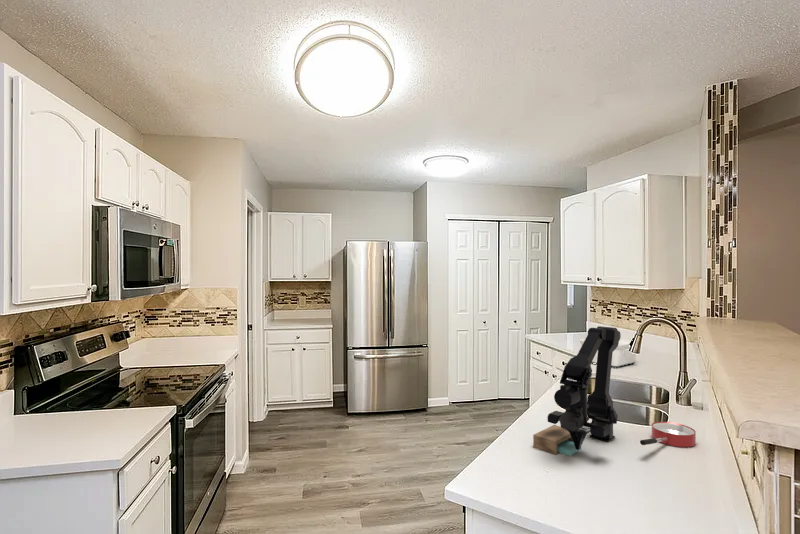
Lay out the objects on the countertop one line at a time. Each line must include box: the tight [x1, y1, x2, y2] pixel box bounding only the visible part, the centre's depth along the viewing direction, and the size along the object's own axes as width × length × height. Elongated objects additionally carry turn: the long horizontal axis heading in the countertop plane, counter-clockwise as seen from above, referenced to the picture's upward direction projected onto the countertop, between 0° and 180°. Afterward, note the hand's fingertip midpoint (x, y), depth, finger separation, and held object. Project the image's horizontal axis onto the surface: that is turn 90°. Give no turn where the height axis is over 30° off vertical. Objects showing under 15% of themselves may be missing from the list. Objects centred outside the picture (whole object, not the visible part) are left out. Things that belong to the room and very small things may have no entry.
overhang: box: [532, 424, 573, 456], centre depth 146 cm, size 8×14×4 cm, turn 132°
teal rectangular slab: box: [557, 440, 582, 456], centre depth 144 cm, size 10×8×2 cm
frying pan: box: [639, 421, 697, 448], centre depth 144 cm, size 32×13×6 cm, turn 135°
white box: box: [579, 337, 637, 368], centre depth 279 cm, size 34×29×15 cm
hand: (577, 449), depth 140 cm, fingers closed
